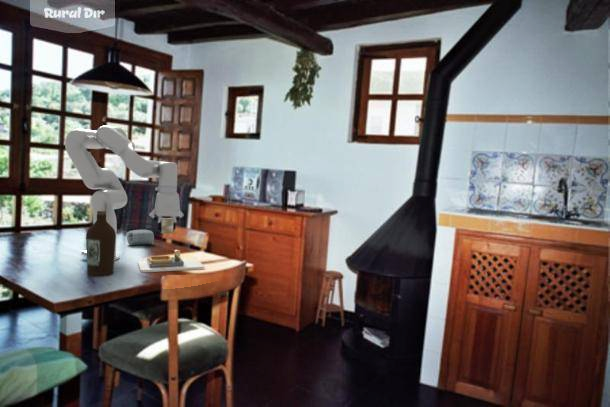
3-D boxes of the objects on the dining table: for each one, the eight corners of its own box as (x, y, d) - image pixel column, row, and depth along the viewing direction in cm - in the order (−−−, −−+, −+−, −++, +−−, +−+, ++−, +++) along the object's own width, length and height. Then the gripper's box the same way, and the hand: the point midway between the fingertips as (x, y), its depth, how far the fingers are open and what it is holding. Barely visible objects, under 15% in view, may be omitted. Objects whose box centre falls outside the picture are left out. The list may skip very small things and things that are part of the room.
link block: (161, 233, 183) (162, 219, 183) (159, 231, 188) (160, 218, 187) (173, 233, 186) (173, 219, 185) (170, 231, 190) (171, 218, 189)
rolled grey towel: (126, 241, 218) (130, 223, 222) (123, 246, 226) (127, 228, 230) (153, 246, 224) (157, 229, 228) (149, 251, 231) (153, 234, 236)
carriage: (149, 267, 178) (149, 253, 177) (146, 261, 187) (147, 248, 186) (183, 265, 184) (184, 252, 183) (179, 260, 193) (179, 247, 192)
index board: (140, 272, 173) (141, 269, 173) (137, 263, 188) (137, 260, 188) (204, 268, 185) (204, 266, 185) (196, 260, 199) (196, 258, 199)
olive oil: (101, 268, 175) (102, 209, 173) (121, 272, 172) (122, 211, 169) (79, 274, 166) (79, 211, 163) (99, 278, 162) (100, 213, 159)
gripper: (148, 190, 178) (147, 233, 179) (189, 191, 186) (187, 232, 187) (146, 189, 184) (144, 230, 186) (185, 190, 192) (183, 229, 194)
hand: (166, 231), depth 187 cm, fingers closed on link block, 4 cm apart
